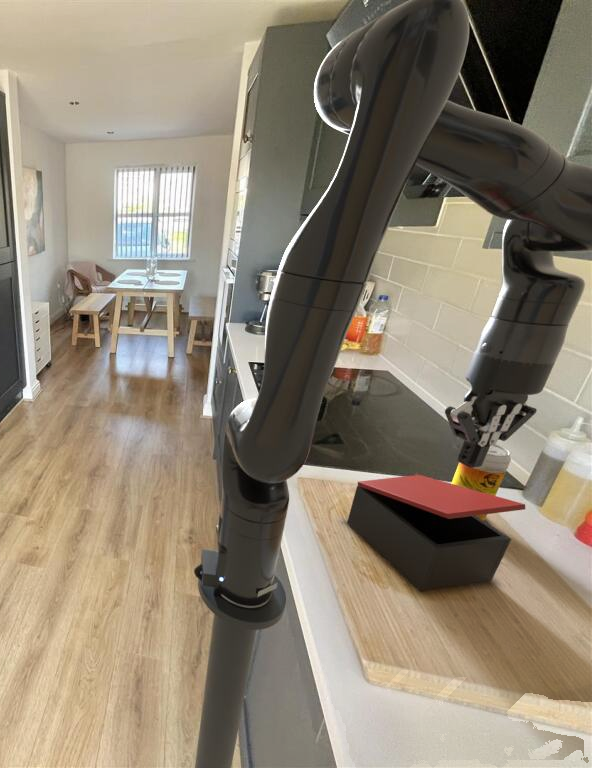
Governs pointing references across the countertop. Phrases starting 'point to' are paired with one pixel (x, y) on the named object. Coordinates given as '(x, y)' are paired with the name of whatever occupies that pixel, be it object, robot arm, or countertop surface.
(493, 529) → the black storage bin
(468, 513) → the lid
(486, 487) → the beer can
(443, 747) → the countertop surface
